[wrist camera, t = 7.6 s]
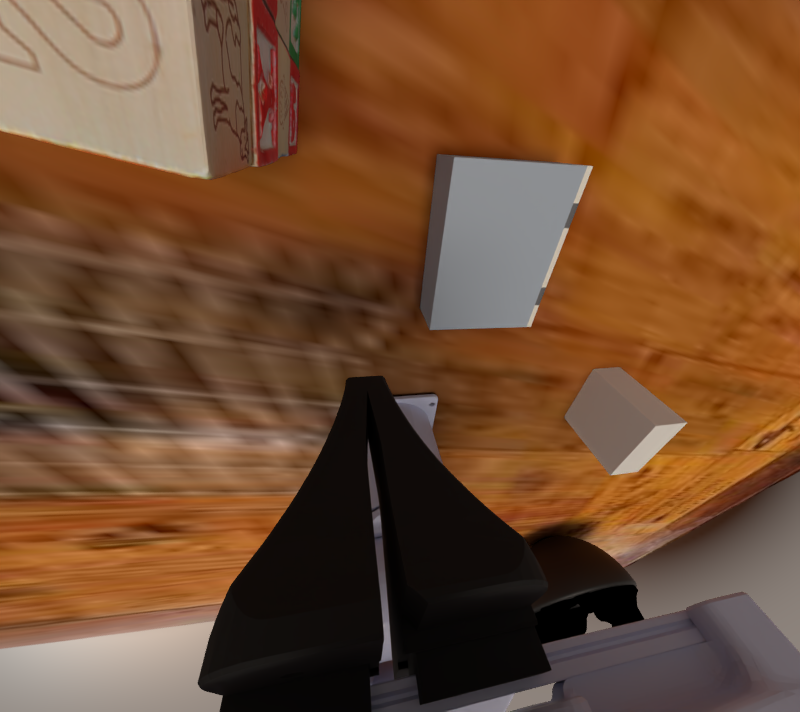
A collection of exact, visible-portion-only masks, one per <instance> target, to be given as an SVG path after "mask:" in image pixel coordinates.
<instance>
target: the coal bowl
mask: <svg viewBox="0 0 800 712" xmlns="http://www.w3.org/2000/svg"><path fill="white" fill-rule="evenodd" d="M530 549H531V550H532V552H533V554H534V556H535V557H536V559H537V561H538V562H539V564H540V566H541V568H542V571H543V573H544V575H545V577H546V579H547V581H548V589H547V591H546V592H545V594H544V595H543V596H541V597H540V598H539V599H538V600H536V601H535V602H534V603H533V604H531V606H532V608H533V611H534V613H535V616H536V618H537V622H538V625H536V626H535V628H536V631H537V634H538V636H539V639H540V641H541V644H545V643H549V642H553V641H557V640H562V639H566V638H570V637H574V636H578V635H583V634H585V632H586V630H587V616H588V614H589V613H593V612H594V614H595V615H596V617H597V618H598V619H599V620H600V621H605V622H608V623H610V624H612V627H616V626H620V625H624V624H629V623H633V622H637V621H641V620H644V618H643V616H642V614H641V613H640V611H639V609H638V607H637V597H636V596H637V592H638V589H637V588H636V582H635V581H634V580H633V579H632V577H631V576H630V575H629V574H628V572H627V571H626V570H625V569H624V568H623V567H622V566H621V565H620V564H619V563H618V562H617V561H616V560H615V559H614V558H612V557H611V556H610V555H609V554H607V553H606V552H605V551H603V550H602V549H600V548H598V547H597V546H595V545H593V544H591V543H589V542H586V541H584V540H581V539H578V538H574V537H568V536H554V537H549V538H546V539H543V540H541V541H539V542H537V543H536V544H534V545H533V546H532V547H531V548H530Z"/></svg>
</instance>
